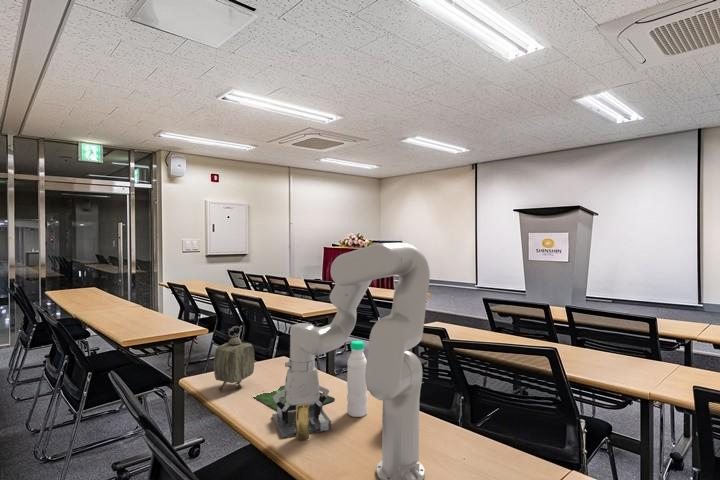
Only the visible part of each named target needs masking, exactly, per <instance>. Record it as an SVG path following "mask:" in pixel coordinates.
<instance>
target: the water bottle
mask: <svg viewBox="0 0 720 480" xmlns="http://www.w3.org/2000/svg"><path fill="white" fill-rule="evenodd" d="M350 350H351V353H350V355H349V357H348V359H347V362H346V363H347V364H346V365H347V375H346V378H347V379H346V380H347V383H346V385H347V386H346V387H347V397H346V401H347V407H346V413H347V414H348V415H349V416H350V417H353V418H362V417H364V416H366V415H367V414H368V388H367V385H366V380H365V371H366V362H367V357H366V355H365V354H364V350H365V343H364V341H361V340H353V341H351V342H350Z"/></svg>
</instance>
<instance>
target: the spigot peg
mask: <svg viewBox="0 0 720 480" xmlns="http://www.w3.org/2000/svg"><path fill="white" fill-rule="evenodd" d="M309 439H310V433H309V404H301V405H296V436H295V440H296V441H298V442H306V441H308V440H309Z"/></svg>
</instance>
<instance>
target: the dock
mask: <svg viewBox="0 0 720 480" xmlns="http://www.w3.org/2000/svg"><path fill="white" fill-rule="evenodd" d="M308 404H309V434H312V433H313V434H314V433H319V432H321V431H320V430H319V426H318V425H317V423H316V422H315V420H314V404H315V402H314V403H308ZM287 411H288V424H285V423H284V421H282V410H281V409H280V408H279V407H278V406H277V411H276V412H277V413H272V414H271V415H272V416H271V417H272V419H273V422H274V425H275V426H276V428H277V429H276V430H278V433H279V436H280V437H281V439H286V438H287V439H288V438H292V437H296V405H290V406H289V407H288V408H287ZM320 412H321V414H322V415H323V417H324V418H325V419H326V420H328V421H329V430H328V431H330V430H332V427H333V426H332V420H331V419H330V418H329V416H328V415H327V414H326V412H325V411H324V410H323V405H321V406H320ZM324 431H326V430H324Z"/></svg>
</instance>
